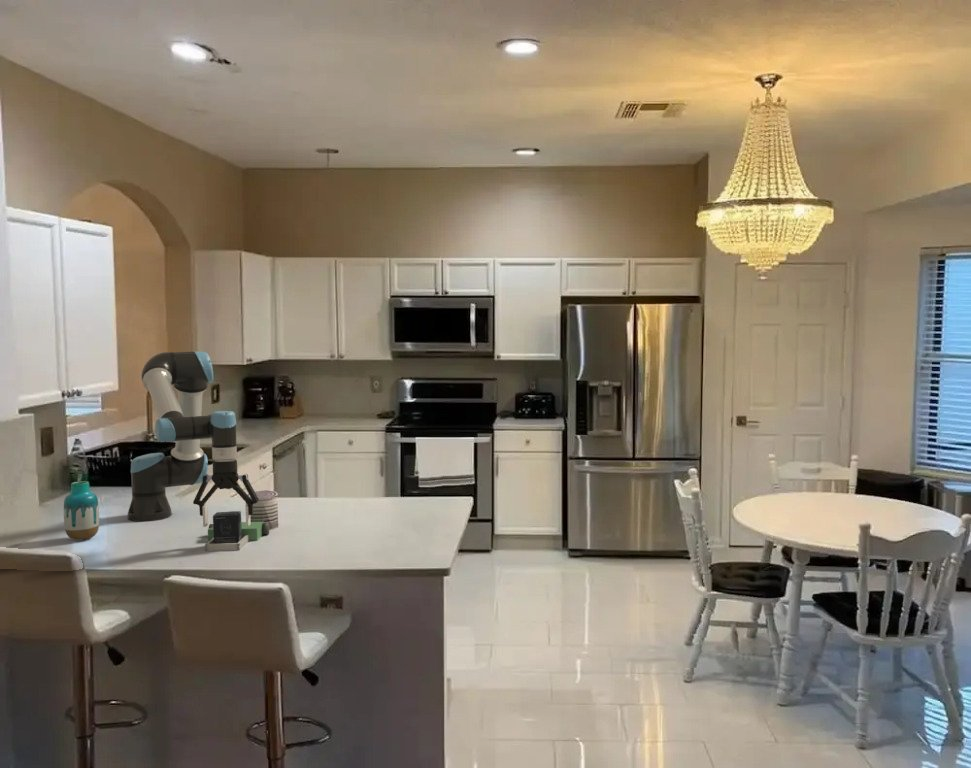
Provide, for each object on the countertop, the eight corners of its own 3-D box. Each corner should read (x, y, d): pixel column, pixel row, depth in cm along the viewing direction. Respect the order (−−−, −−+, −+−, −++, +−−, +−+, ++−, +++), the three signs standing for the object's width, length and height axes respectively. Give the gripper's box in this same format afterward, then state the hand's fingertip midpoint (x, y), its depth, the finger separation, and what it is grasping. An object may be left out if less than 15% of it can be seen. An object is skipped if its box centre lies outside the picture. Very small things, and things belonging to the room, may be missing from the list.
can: (285, 524, 297) (284, 491, 296) (267, 532, 286) (265, 497, 285) (257, 522, 300) (256, 489, 300) (238, 530, 290) (237, 495, 289)
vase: (77, 544, 273) (74, 486, 272) (58, 540, 279) (55, 483, 277) (106, 537, 282) (104, 481, 281) (88, 534, 288) (85, 478, 286)
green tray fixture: (191, 551, 262) (190, 525, 262) (212, 534, 284) (211, 511, 283) (253, 549, 262) (252, 524, 262) (269, 533, 284) (269, 509, 284)
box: (242, 542, 272) (241, 510, 271) (239, 547, 266) (238, 514, 265) (217, 544, 271) (216, 511, 270) (213, 548, 265) (212, 515, 264)
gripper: (181, 462, 263) (183, 528, 264) (261, 461, 263) (263, 527, 265) (189, 458, 270) (191, 523, 272) (266, 457, 271) (268, 521, 272)
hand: (227, 525), depth 268 cm, fingers open, 13 cm apart
